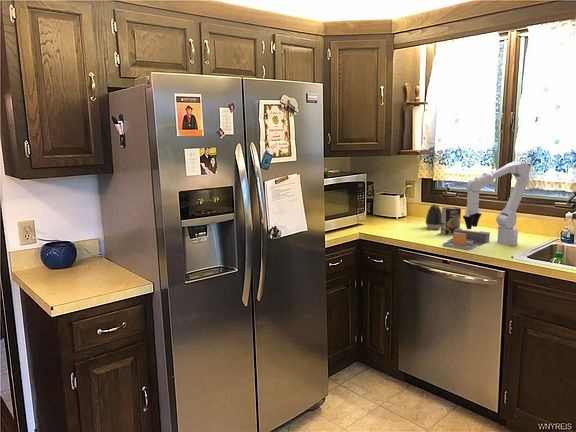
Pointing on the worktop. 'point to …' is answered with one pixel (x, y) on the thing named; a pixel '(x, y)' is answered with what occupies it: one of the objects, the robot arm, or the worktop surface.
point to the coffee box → (450, 220)
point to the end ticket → (459, 239)
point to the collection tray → (468, 246)
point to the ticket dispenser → (474, 236)
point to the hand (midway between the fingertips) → (471, 227)
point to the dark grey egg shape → (434, 217)
